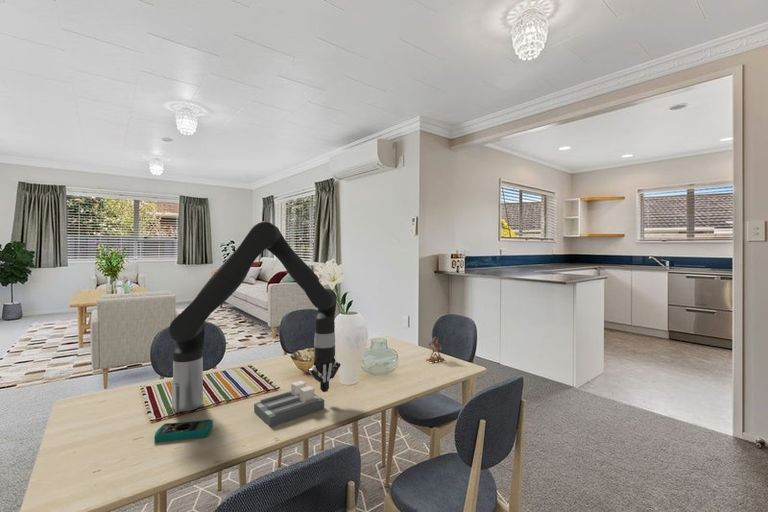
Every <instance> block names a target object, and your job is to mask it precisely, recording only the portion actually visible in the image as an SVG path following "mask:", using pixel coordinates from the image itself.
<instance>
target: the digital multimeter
mask: <svg viewBox="0 0 768 512" xmlns="http://www.w3.org/2000/svg"><path fill="white" fill-rule="evenodd" d="M212 428H213V419H200V420H193V421H192V420H191V421H180V422H169V423H168V422H167V423H164V424H162V425H161V426H160V427H159V428H158V429H157V430H156V431H155V433H154V443H163V442H164V443H165V442H170V441H171V442H173V441H181V440H190V439H191V440H192V439H202V438H203V439H204V438H207V437H208V436H209V434H210V433H211V431H212Z"/></svg>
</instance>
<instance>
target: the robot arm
mask: <svg viewBox="0 0 768 512" xmlns="http://www.w3.org/2000/svg"><path fill="white" fill-rule="evenodd" d="M265 250H267V251H269V252H270V253H271V254H272V255H273V256H275V258H277V260H278V261H279V262H280V263H281V264H282V266H283V267H284V268H285V270H286V271H287V273H288V274H289V276H290V277H291V278H292V279H293V281H295V283H296V284H297V285H298V286H299V287H300V288H301V289H302V290H303V291H304V293H305V295H306V296H307V298H308V299H309V301H310V303H312V305H313V306H314V307H315V308H316V309H317V315H316V317H315V321H314V339H313V340H314V341H313V342H314V344H313V345H314V346H313V350H314V351H313V352H314V353H313V357H314V362H313V365H312V366H311V368H310V367H309V368H308V369H307V371H308V373H309V375H311V376H312V377H313V379H314V380H315V381H317V382H319V383H320V384H319V385H320V390H321V392H323V393H326V392H328V391H329V389H330V380H332V379H333V378H335V375H336V374H337V372H338V371H339V369H340V367H341V363H340V362H337V361H336V360H337V359H336V358H335V357H336V333H335V332H336V331H335V329H336V327H335V324H336V323H335V316H336V309H337V296H336V295H337V294H336V292H335V291H334V290H333V289H331V288H325V287H324V286H323V285H322V284H321V282H320V278H319V277H318V275H317V274H316V273H315V272H314V271H313V270H312V269H311V267H309V265H307V263H305V261H303V259H302V258H301V257H300V256H299V254H297V253H296V251H294V249H293V248H292V247H291V246H290V245H289V243H288V242H287V241H286V238H285V237H284V235H283V234H282V233H281V231H280V229H279V227H278V226H277V225H275V224H273V223H271V222H270V221H266V220H265V221H264V220H263V221H258V222H257V223H255V224H254V225H253V226H252V227H251V229H250V230H249V232H248V233H247V234H246V236H245V237H244V238H243V240H242V242H241V243H240V245H239V246H238V247H237V248H236V249H235V250H234V251H233V252H232V254H231V255H230V256H229V257H227V259H226V260H225V261H224V263H222V265H221V266H219V267H218V269H217V270H216V271H215V272H214V273H213V275H212V276H211V277H210V278H209V279H208V281H207V282H206V283H205V285H204V286H203V287H202V288H201V290H200V291H199V292H198V294H197V295H196V297H194V299H193V300H192V302H191V303H190V304H189V305H188V306H187V307H186V308H185V309H183V310H182V311H181V312H180V313H179V314H178V315H177V316H176V317H174V318H173V319H172V320H171V322H170V324H169V328H168V334H169V336H170V338H171V339H172V340H173V341H175V342H176V344H175V348H174V350H173V352H172V380H171V407H172V409H173V410H174V412H175V413H178V412H179V413H180V412H182V413H183V412H189V411H193V410H196V409H198V408H200V407H201V406H202V405H203V404H204V387H203V386H204V385H203V383H204V381H203V380H204V378H203V377H204V373H203V368H204V367H203V366H204V365H203V363H204V362H203V358H204V357H203V355H204V354H203V352H204V347H205V338H206V337H205V334H206V331H205V329H206V328H205V321H206V320H208V318H209V317H210V316H211V314H213V312H215V310H216V309H218V308H219V307H220V306H221V305H223V304H224V303H225V302H226V301H227V300H228V299H229V298H230V297H231V296H232V295H233V294H234V293H235V292H236V290H238V288H239V287H240V286H241V284H242V283H243V282H244V281H245V279H246V277H247V276H248V274H249V271H250V269H251V267H252V266H253V264H254V262H255V261H256V260H257V258H258V257H259V256H260V255H261V254H262V253H263V252H264V251H265Z"/></svg>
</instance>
